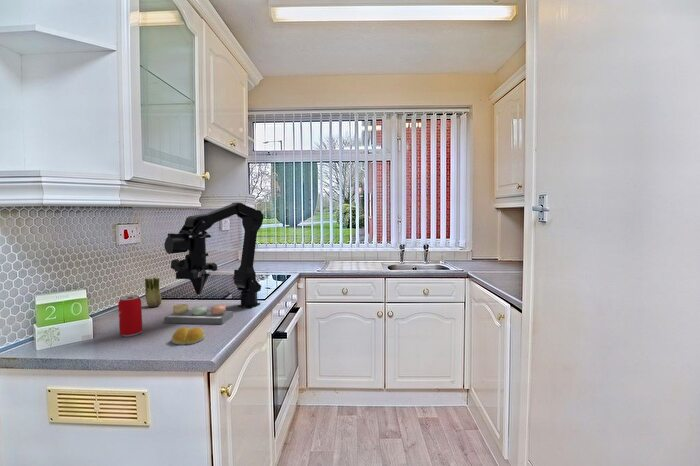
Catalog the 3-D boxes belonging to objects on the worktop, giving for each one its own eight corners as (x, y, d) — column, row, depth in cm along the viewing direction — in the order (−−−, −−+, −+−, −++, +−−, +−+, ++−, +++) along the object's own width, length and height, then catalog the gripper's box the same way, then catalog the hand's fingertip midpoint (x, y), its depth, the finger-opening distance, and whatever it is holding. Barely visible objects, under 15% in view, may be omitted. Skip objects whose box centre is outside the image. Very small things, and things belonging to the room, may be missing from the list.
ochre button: (178, 309, 132) (177, 303, 132) (191, 309, 131) (190, 304, 131) (170, 313, 127) (169, 307, 127) (183, 313, 126) (183, 307, 126)
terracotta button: (214, 309, 131) (214, 304, 131) (227, 310, 130) (227, 304, 130) (208, 313, 126) (208, 308, 126) (221, 314, 125) (221, 308, 125)
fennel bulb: (144, 306, 146) (142, 277, 145) (155, 304, 150) (154, 275, 149) (152, 308, 143) (151, 279, 142) (164, 306, 147) (162, 277, 146)
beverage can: (138, 329, 118) (136, 293, 118) (145, 333, 114) (144, 296, 114) (116, 334, 114) (114, 297, 113) (123, 339, 110) (122, 300, 109)
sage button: (196, 311, 131) (196, 306, 131) (209, 311, 131) (209, 306, 131) (189, 315, 126) (189, 309, 126) (202, 315, 126) (202, 310, 126)
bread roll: (201, 344, 106) (201, 331, 106) (169, 346, 104) (168, 333, 104) (207, 334, 114) (207, 322, 114) (177, 336, 112) (177, 324, 112)
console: (178, 315, 134) (178, 309, 134) (232, 316, 132) (232, 310, 132) (164, 322, 125) (164, 316, 125) (222, 324, 123) (222, 318, 123)
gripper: (189, 248, 137) (190, 288, 138) (159, 254, 118) (161, 300, 119) (217, 248, 136) (218, 288, 137) (191, 254, 117) (193, 301, 119)
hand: (198, 294), depth 128 cm, fingers closed
